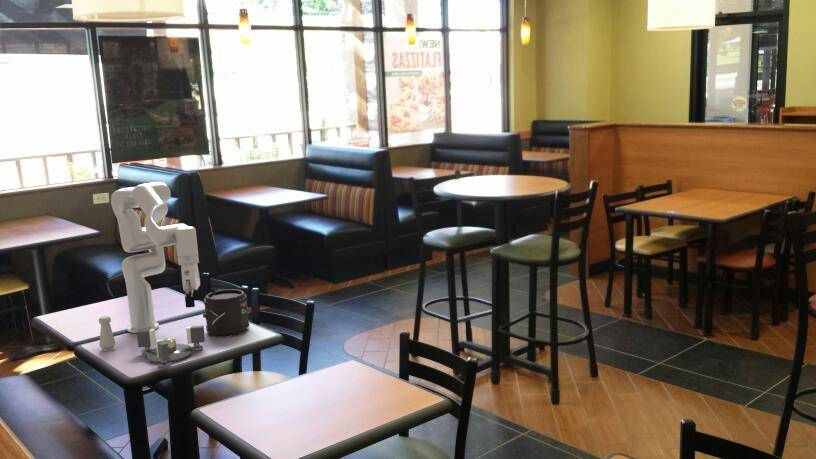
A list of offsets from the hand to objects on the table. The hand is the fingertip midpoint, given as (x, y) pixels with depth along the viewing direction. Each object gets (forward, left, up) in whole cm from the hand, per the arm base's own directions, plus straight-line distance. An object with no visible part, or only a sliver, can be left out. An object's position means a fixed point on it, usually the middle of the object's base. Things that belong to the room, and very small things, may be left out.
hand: (192, 303), depth 278 cm
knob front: (+16, -9, -17) cm, 25 cm away
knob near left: (0, 0, -17) cm, 17 cm away
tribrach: (+7, -9, -18) cm, 22 cm away
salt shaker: (-9, -35, -18) cm, 41 cm away
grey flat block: (0, -18, -17) cm, 25 cm away
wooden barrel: (-21, +9, -19) cm, 29 cm away
